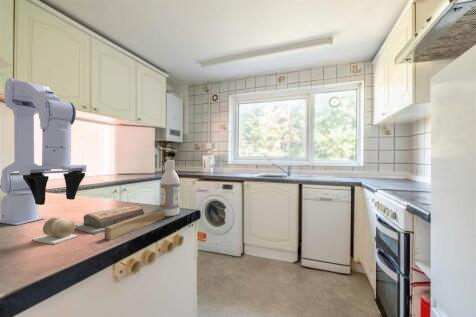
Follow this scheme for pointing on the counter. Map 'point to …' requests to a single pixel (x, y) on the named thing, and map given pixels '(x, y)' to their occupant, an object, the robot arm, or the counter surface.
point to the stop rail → (133, 224)
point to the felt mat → (53, 239)
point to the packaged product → (108, 218)
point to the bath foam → (170, 190)
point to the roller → (59, 227)
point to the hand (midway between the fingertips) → (56, 201)
